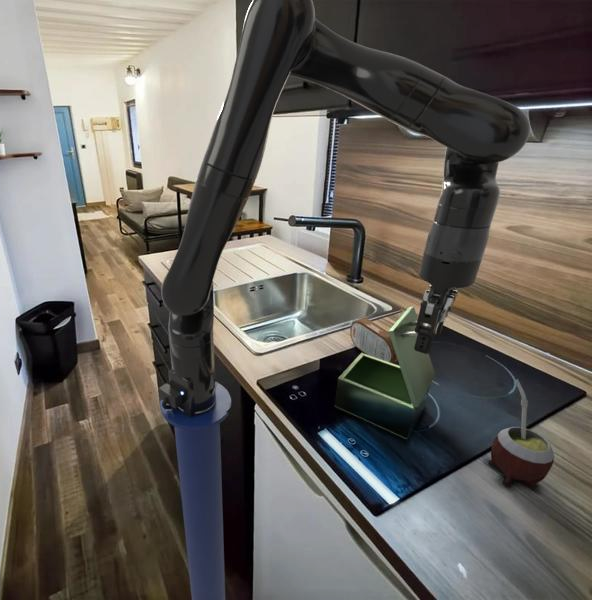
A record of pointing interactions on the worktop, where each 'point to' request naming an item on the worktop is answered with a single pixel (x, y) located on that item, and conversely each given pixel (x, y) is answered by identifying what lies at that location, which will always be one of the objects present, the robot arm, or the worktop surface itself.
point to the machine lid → (411, 356)
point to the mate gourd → (521, 452)
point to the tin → (373, 340)
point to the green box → (378, 396)
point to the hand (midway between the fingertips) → (426, 343)
